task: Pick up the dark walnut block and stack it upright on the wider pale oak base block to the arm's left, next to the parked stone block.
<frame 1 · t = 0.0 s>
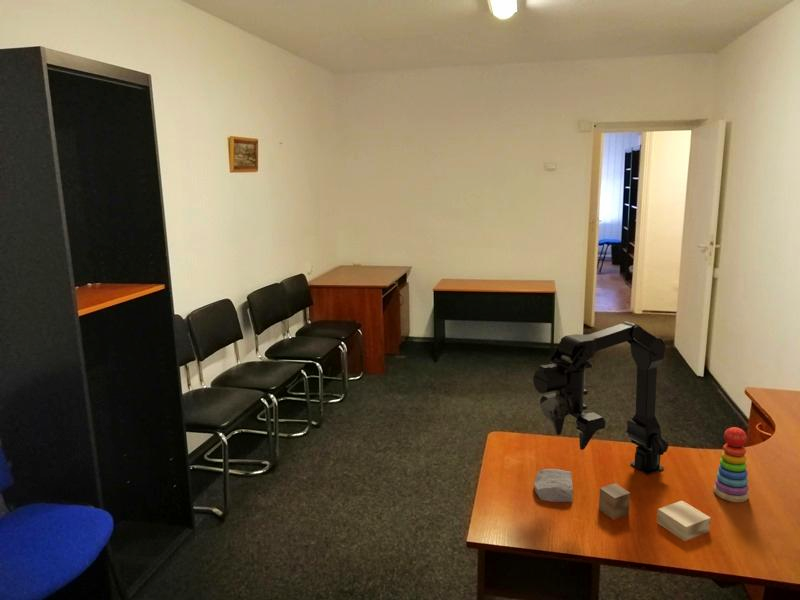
hand: (570, 441, 152), 15 cm above the table, fingers open, 9 cm apart
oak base: (682, 528, 140), on the table
stacking toy: (730, 495, 152), on the table
stone block: (552, 491, 157), on the table
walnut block: (613, 511, 146), on the table
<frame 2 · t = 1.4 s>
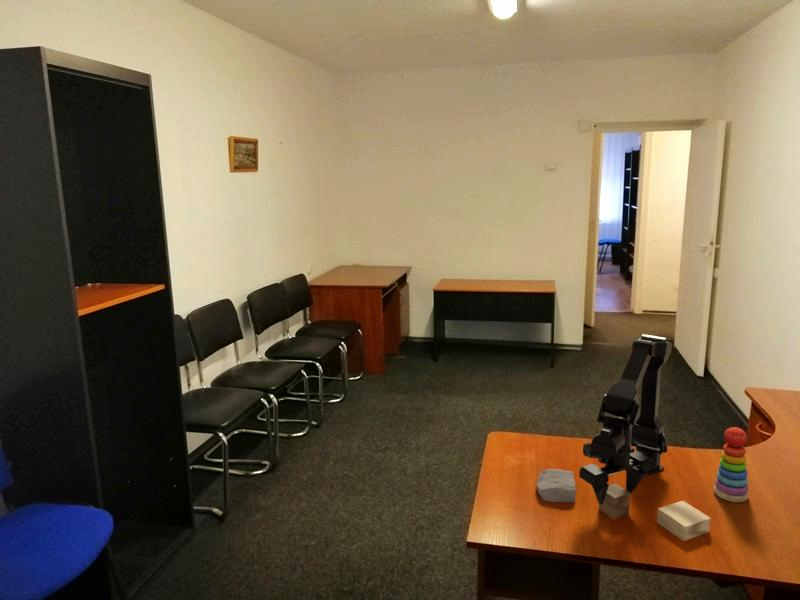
hand: (614, 499, 145), 3 cm above the table, fingers open, 9 cm apart
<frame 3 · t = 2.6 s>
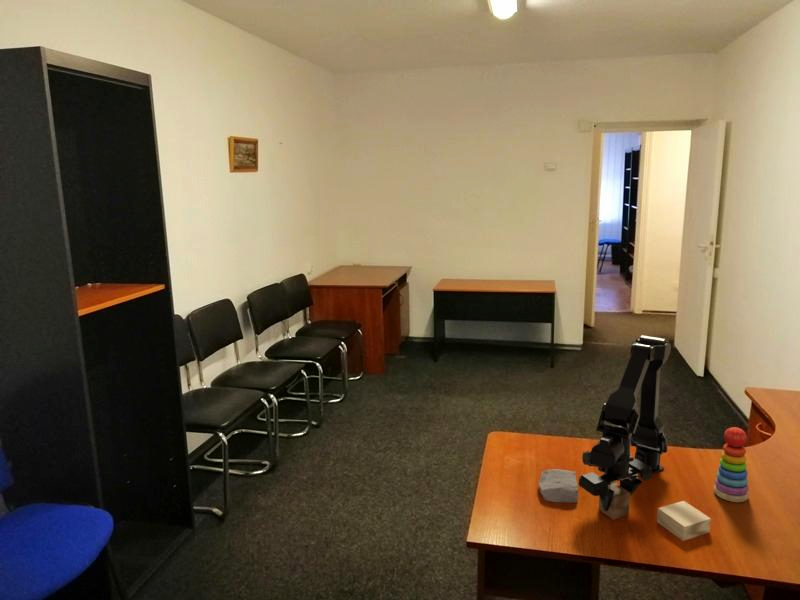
hand: (613, 507, 146), 1 cm above the table, fingers closed on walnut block, 5 cm apart
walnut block: (613, 511, 146), on the table, touching gripper
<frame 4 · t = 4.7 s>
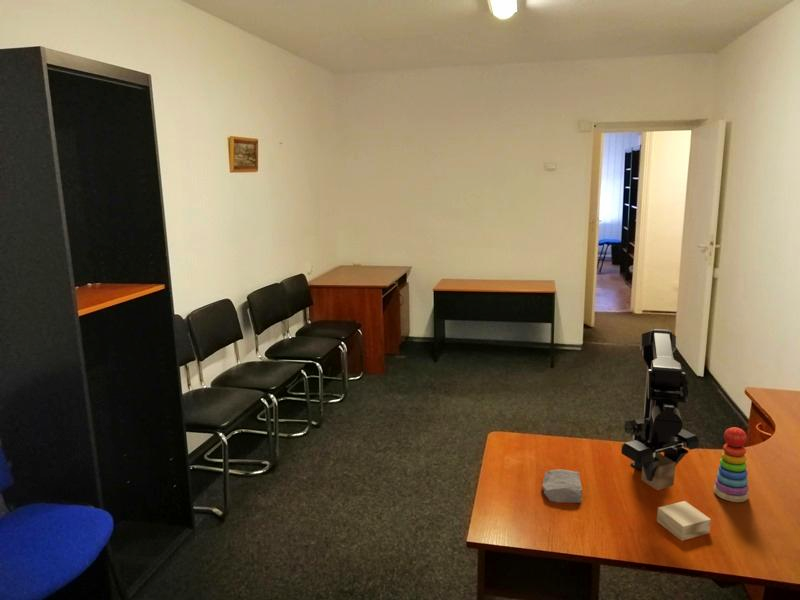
hand: (657, 477, 139), 12 cm above the table, fingers closed on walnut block, 5 cm apart
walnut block: (657, 482, 140), point 10 cm above the table, touching gripper
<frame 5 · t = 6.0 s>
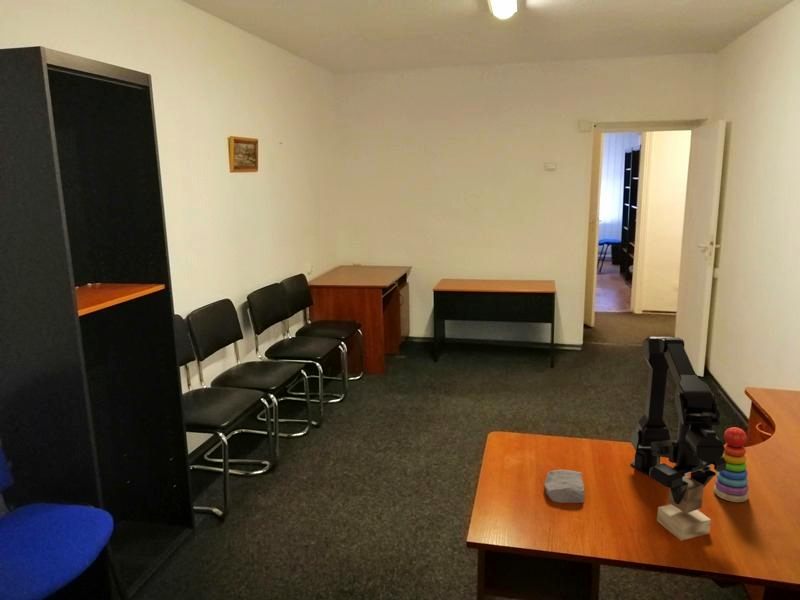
hand: (685, 500, 138), 7 cm above the table, fingers closed on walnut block, 5 cm apart
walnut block: (684, 505, 138), point 6 cm above the table, touching gripper
when the fingers open (6 cm above the table, at t = 7.0 s): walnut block drops 1 cm, resting on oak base.
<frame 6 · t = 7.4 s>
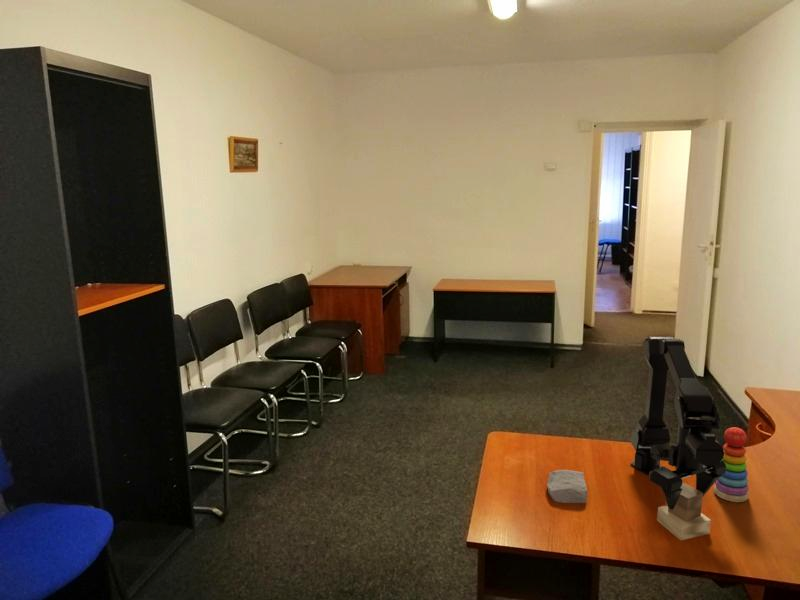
hand: (684, 503, 138), 6 cm above the table, fingers open, 9 cm apart
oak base: (682, 528, 140), on the table, touching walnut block
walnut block: (684, 513, 139), point 4 cm above the table, touching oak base
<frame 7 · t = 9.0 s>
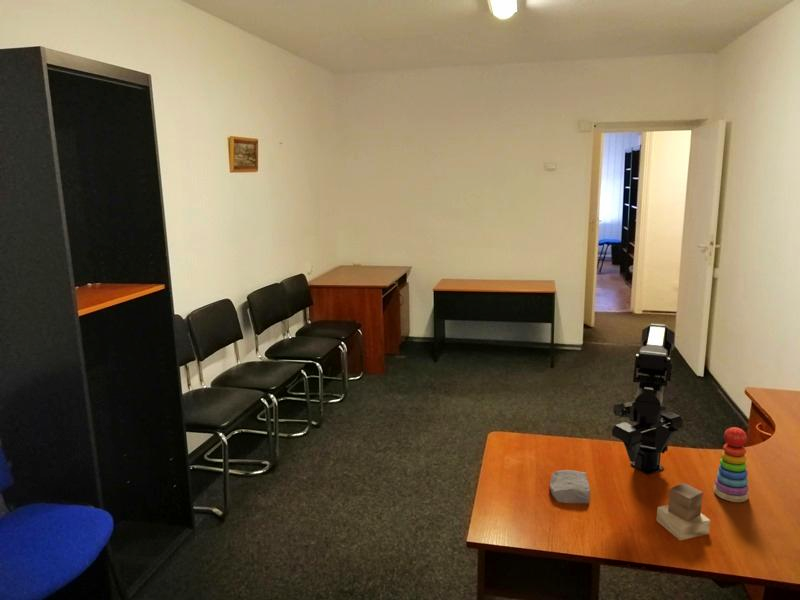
hand: (645, 456, 148), 12 cm above the table, fingers open, 9 cm apart
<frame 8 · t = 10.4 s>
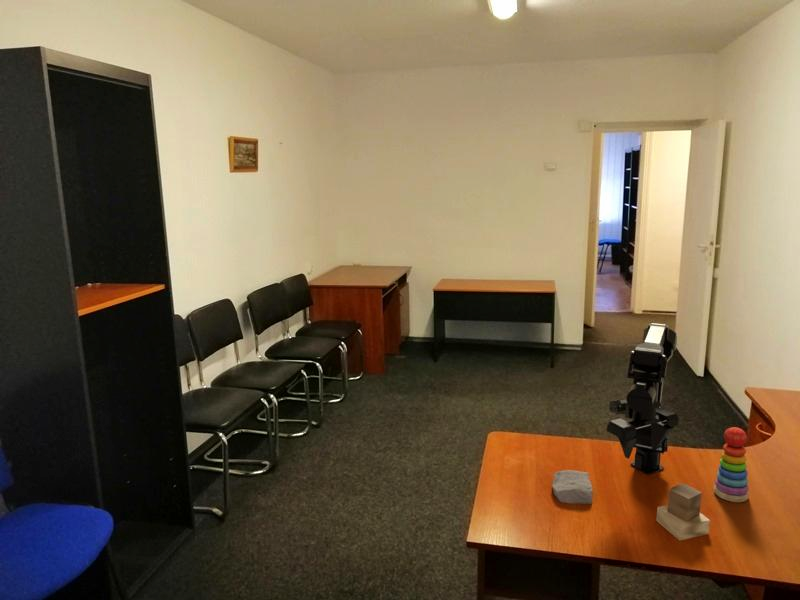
hand: (640, 453, 149), 13 cm above the table, fingers open, 9 cm apart
at the end: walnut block 0.1 cm from the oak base (horizontally); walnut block touching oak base; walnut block tilted 0° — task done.
